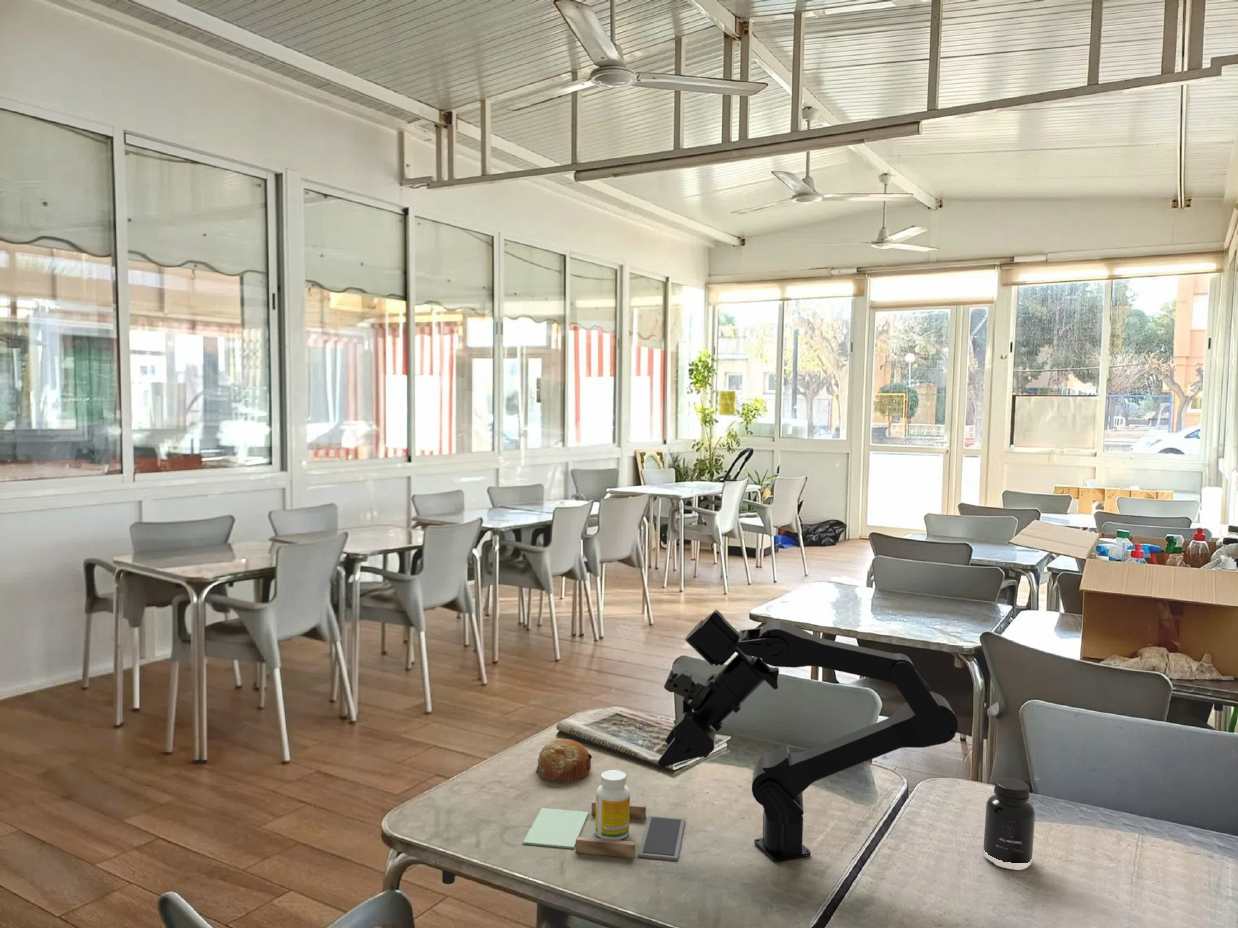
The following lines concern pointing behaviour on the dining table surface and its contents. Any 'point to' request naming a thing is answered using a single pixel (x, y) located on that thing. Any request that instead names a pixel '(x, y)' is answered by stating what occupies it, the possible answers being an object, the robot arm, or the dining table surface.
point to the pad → (556, 828)
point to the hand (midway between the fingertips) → (663, 753)
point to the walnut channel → (608, 845)
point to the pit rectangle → (662, 838)
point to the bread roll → (563, 761)
